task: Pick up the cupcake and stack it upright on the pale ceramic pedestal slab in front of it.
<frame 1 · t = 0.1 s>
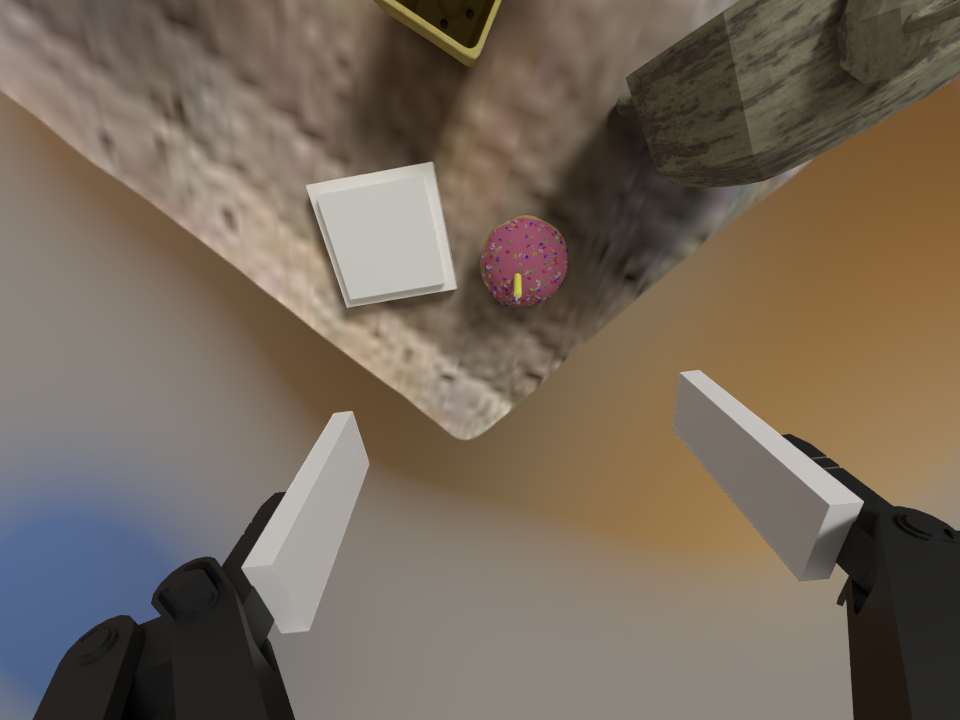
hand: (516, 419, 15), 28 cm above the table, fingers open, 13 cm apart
cupcake: (517, 254, 39), on the table
flower pot: (452, 6, 30), on the table
pedestal: (390, 237, 38), on the table
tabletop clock: (685, 103, 34), on the table
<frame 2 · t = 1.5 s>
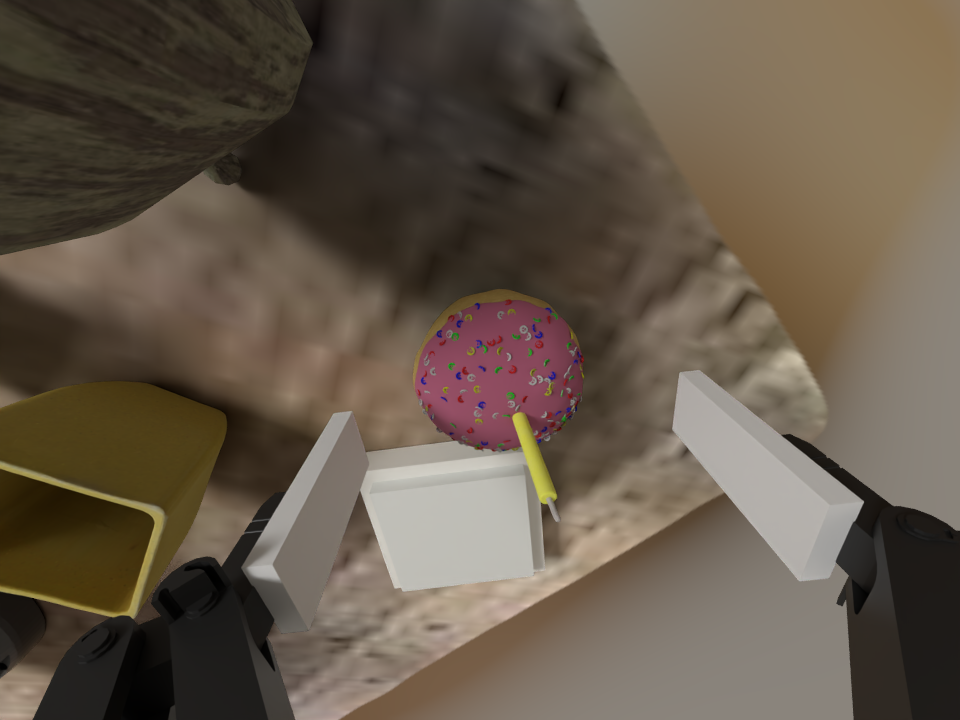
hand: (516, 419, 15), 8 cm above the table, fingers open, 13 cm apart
cupcake: (492, 341, 23), on the table
flower pot: (183, 423, 24), on the table
pedestal: (458, 504, 28), on the table
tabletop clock: (193, 8, 16), on the table
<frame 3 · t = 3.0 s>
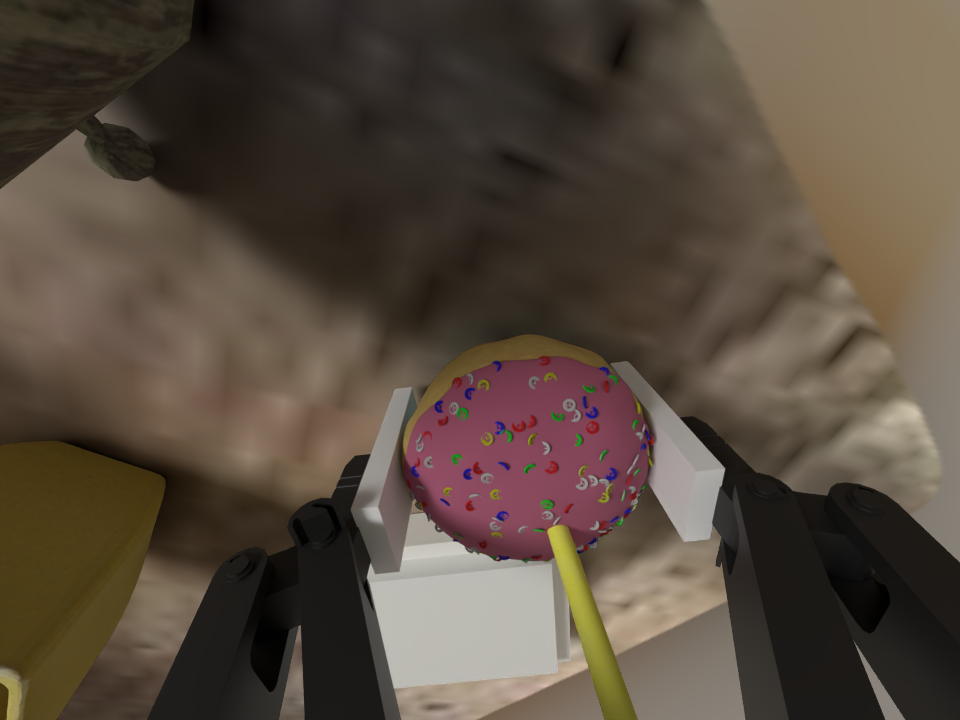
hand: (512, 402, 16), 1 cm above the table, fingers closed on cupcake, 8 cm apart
cupcake: (511, 389, 17), on the table, touching gripper
flower pot: (114, 486, 19), on the table
pedestal: (464, 579, 23), on the table
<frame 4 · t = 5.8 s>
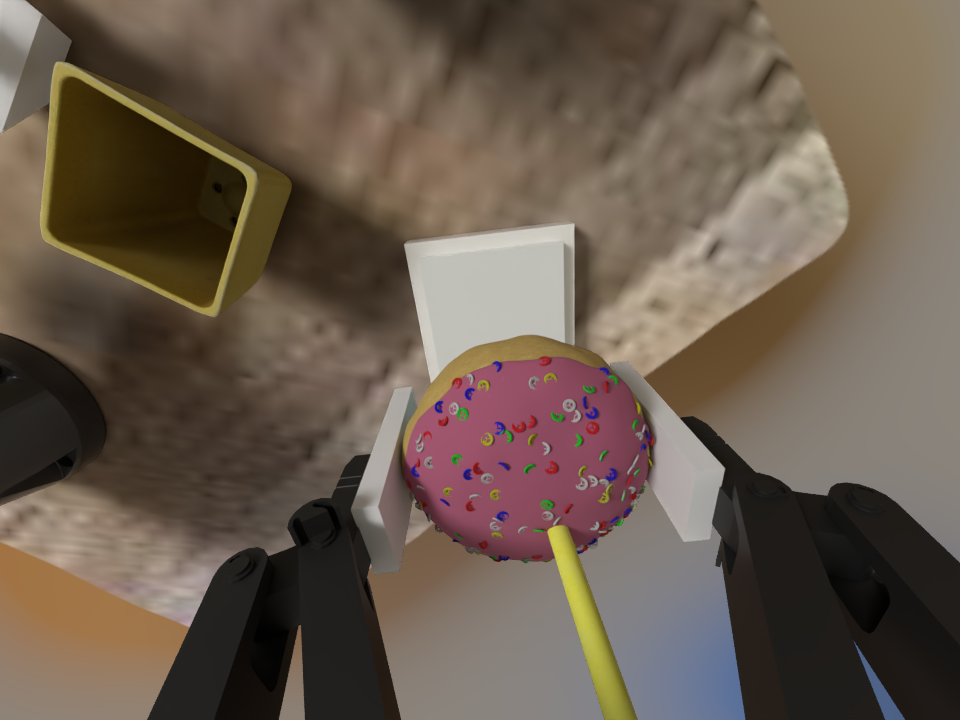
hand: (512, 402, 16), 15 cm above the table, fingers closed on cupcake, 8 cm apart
cupcake: (511, 390, 17), point 14 cm above the table, touching gripper
flower pot: (247, 200, 26), on the table
pedestal: (494, 307, 30), on the table
figurine: (25, 43, 22), on the table
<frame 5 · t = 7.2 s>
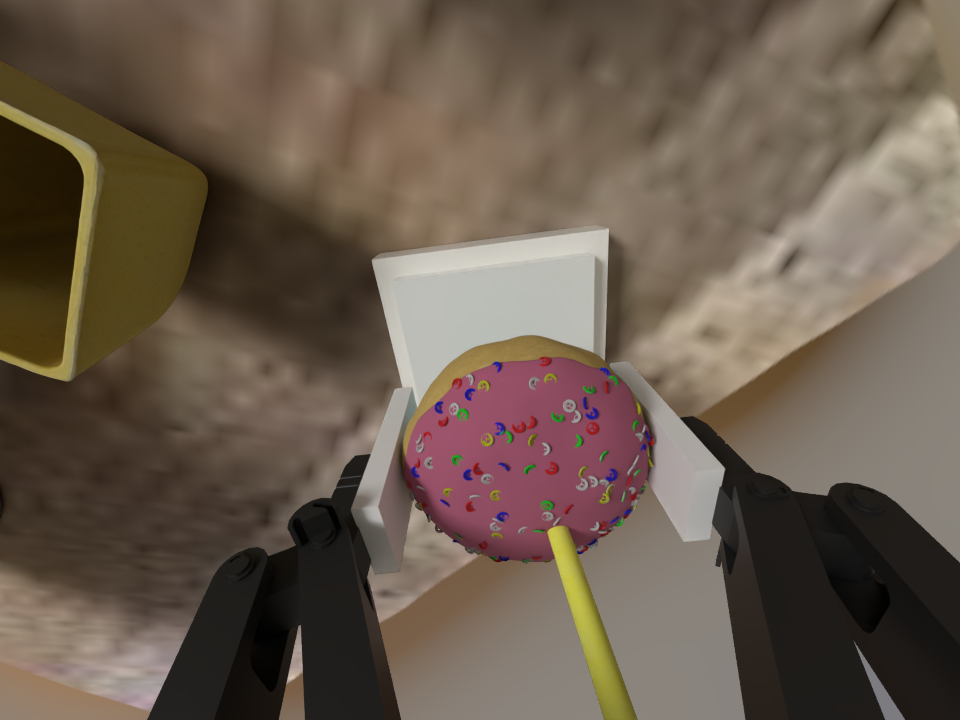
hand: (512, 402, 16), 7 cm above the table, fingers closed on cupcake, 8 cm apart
cupcake: (511, 390, 17), point 6 cm above the table, touching gripper
flower pot: (154, 201, 19), on the table
pedestal: (498, 339, 23), on the table
when the fingers open (5 cm above the table, at t = 8.5 s): cupcake drops 1 cm, resting on pedestal.
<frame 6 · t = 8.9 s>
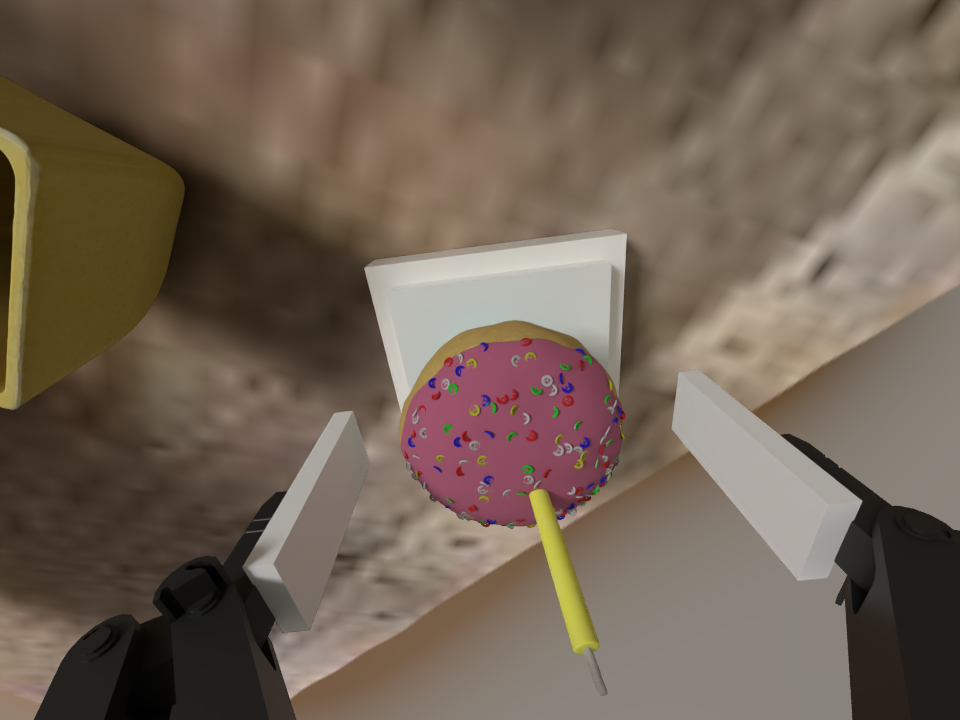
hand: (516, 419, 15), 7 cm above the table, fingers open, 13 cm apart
cupcake: (501, 375, 18), point 3 cm above the table, touching pedestal
flower pot: (127, 203, 17), on the table
pedestal: (502, 352, 21), on the table
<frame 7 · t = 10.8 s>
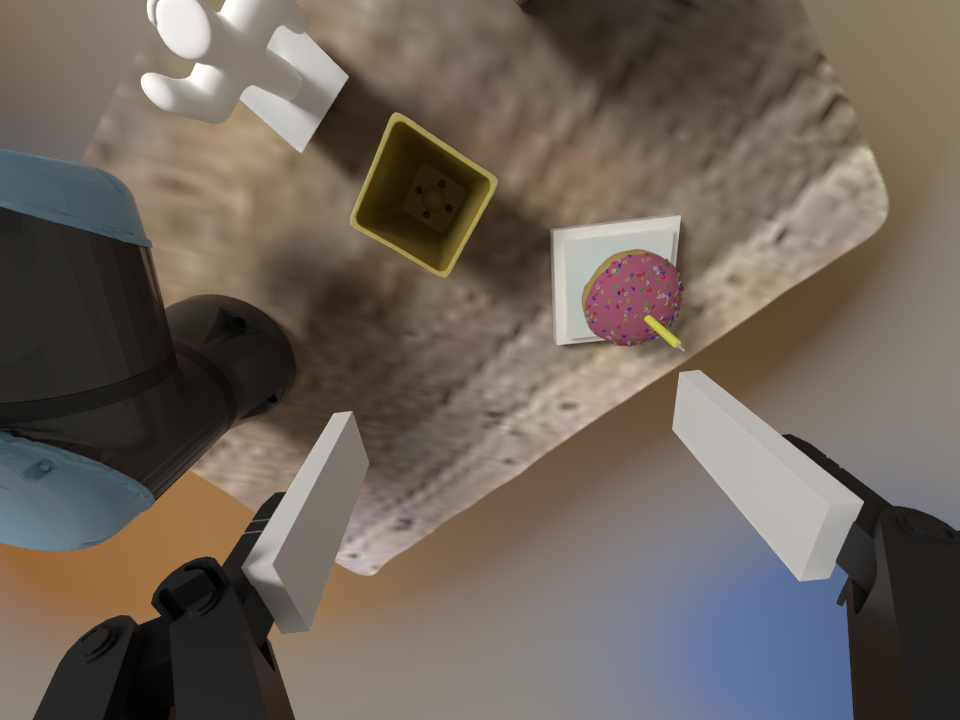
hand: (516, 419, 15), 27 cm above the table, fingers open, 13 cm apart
cupcake: (613, 287, 37), point 3 cm above the table, touching pedestal
flower pot: (436, 199, 36), on the table
pedestal: (607, 280, 39), on the table
figurine: (306, 91, 32), on the table
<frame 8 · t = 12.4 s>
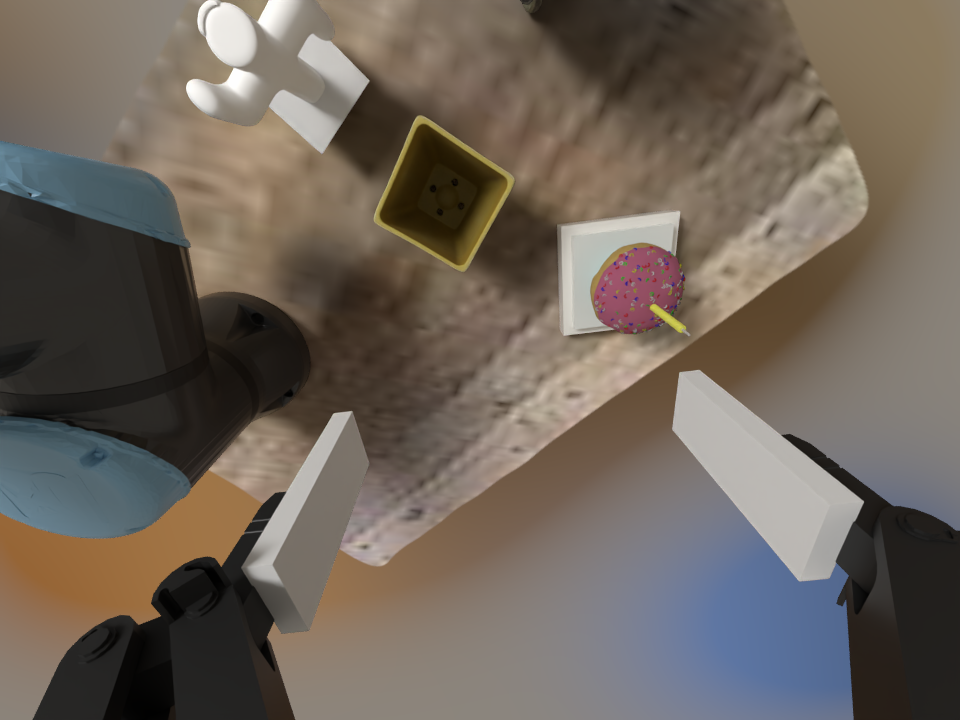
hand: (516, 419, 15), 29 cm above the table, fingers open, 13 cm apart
cupcake: (618, 279, 39), point 3 cm above the table, touching pedestal
flower pot: (448, 197, 38), on the table
pedestal: (611, 273, 41), on the table
figurine: (324, 94, 34), on the table
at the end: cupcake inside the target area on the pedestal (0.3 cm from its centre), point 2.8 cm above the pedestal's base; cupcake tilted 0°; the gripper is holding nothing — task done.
